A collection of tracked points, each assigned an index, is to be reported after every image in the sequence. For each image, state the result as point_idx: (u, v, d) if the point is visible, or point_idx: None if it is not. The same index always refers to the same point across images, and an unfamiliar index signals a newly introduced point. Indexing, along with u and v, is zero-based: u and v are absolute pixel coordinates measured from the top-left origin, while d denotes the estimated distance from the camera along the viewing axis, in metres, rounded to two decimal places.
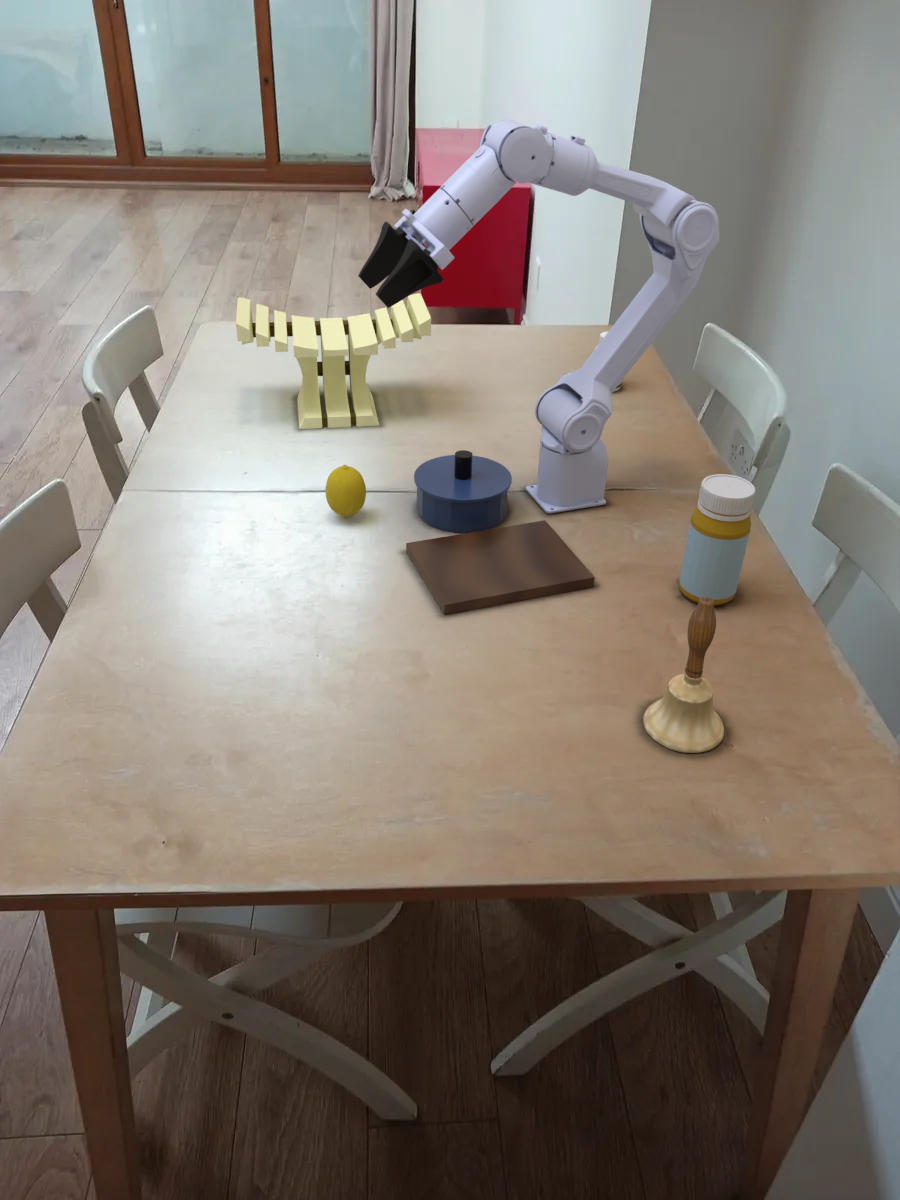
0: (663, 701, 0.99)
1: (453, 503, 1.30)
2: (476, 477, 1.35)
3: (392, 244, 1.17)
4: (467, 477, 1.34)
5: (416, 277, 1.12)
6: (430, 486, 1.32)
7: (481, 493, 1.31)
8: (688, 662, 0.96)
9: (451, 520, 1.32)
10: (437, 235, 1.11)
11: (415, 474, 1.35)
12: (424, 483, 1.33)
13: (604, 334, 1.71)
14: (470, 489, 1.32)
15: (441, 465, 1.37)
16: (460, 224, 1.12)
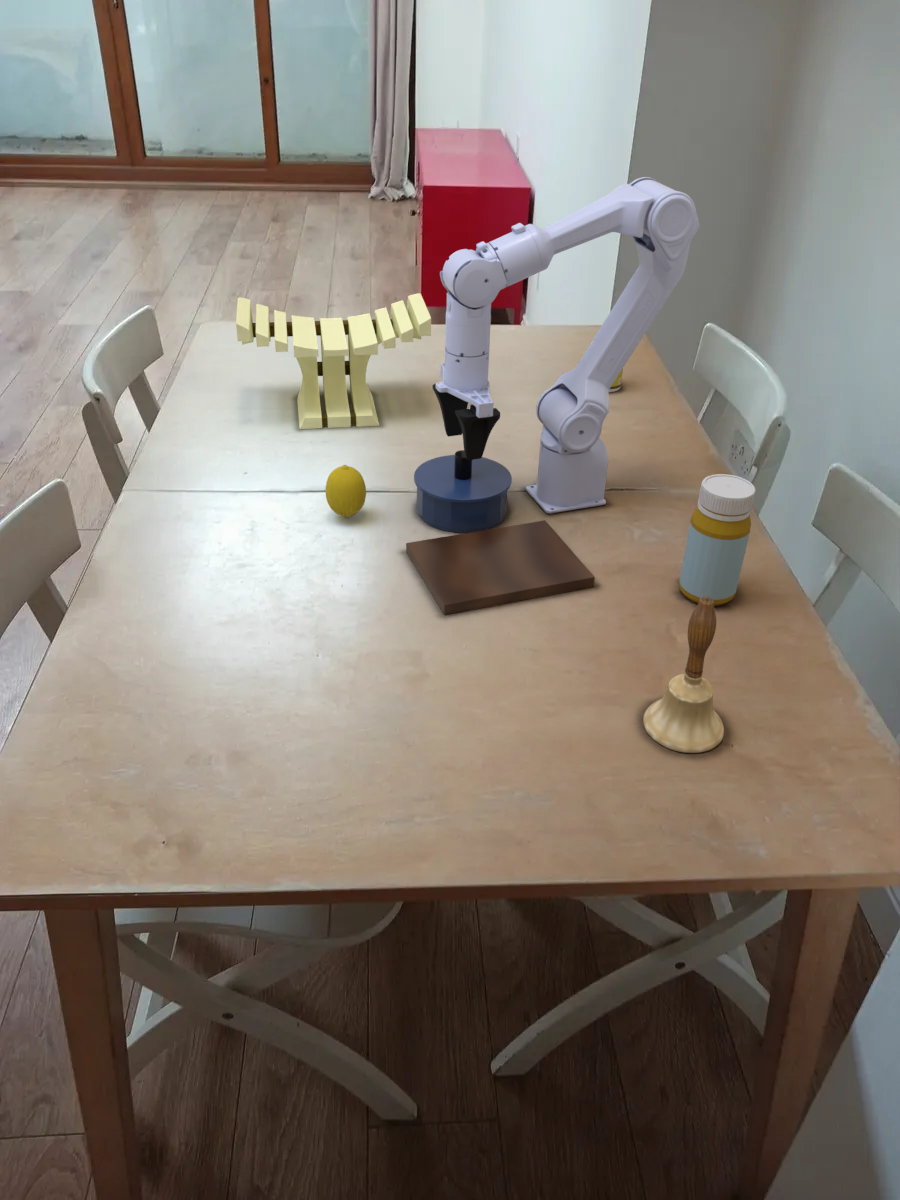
0: (663, 701, 0.99)
1: (453, 503, 1.30)
2: (476, 477, 1.35)
3: (449, 398, 1.32)
4: (467, 477, 1.34)
5: (481, 426, 1.26)
6: (430, 486, 1.32)
7: (481, 493, 1.31)
8: (688, 662, 0.96)
9: (451, 520, 1.32)
10: (471, 386, 1.24)
11: (415, 474, 1.35)
12: (424, 483, 1.33)
13: None
14: (470, 489, 1.32)
15: (441, 465, 1.37)
16: (479, 364, 1.23)
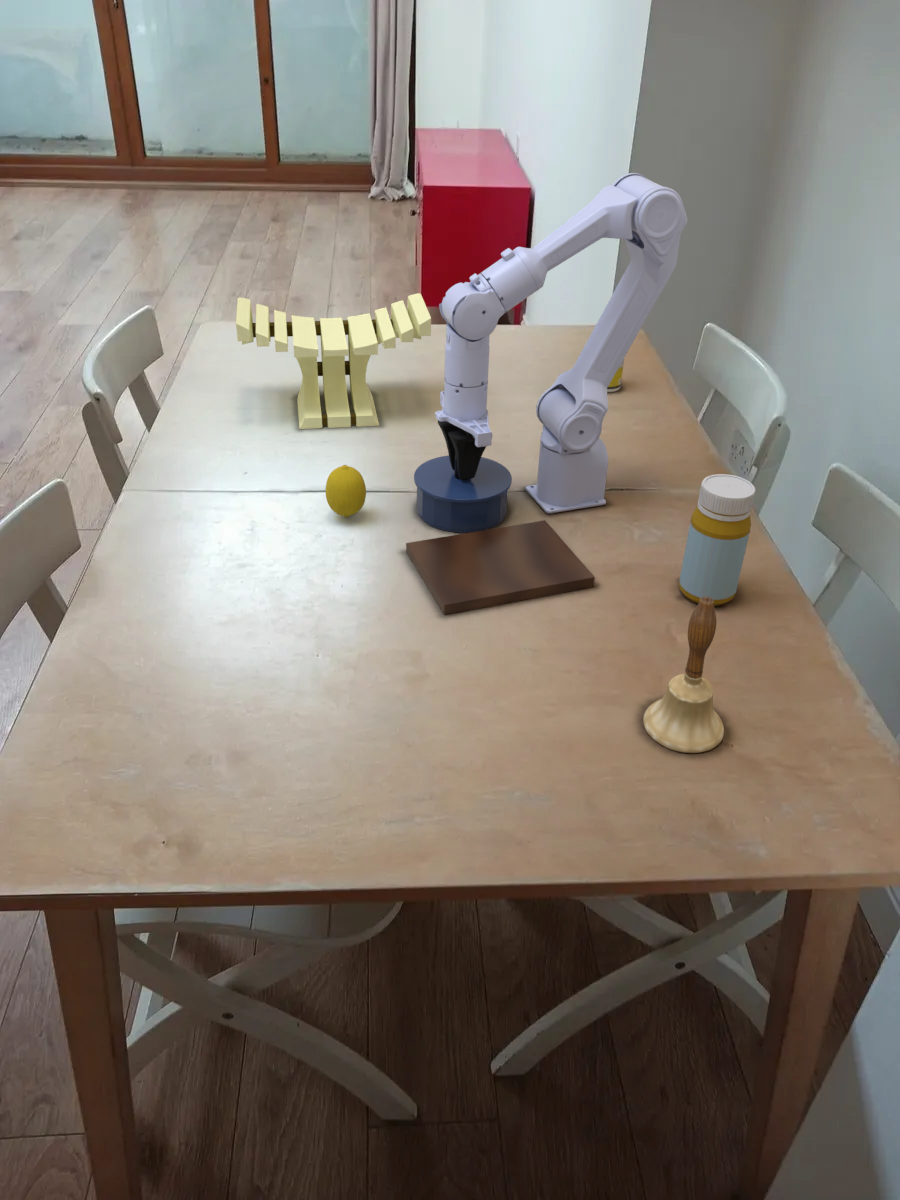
0: (663, 701, 0.99)
1: (453, 503, 1.30)
2: (476, 477, 1.35)
3: None
4: None
5: (474, 447, 1.31)
6: (430, 486, 1.32)
7: (481, 493, 1.31)
8: (688, 662, 0.96)
9: (451, 520, 1.32)
10: (470, 415, 1.27)
11: (415, 474, 1.35)
12: (424, 483, 1.33)
13: None
14: (470, 489, 1.32)
15: (441, 465, 1.37)
16: (478, 394, 1.26)
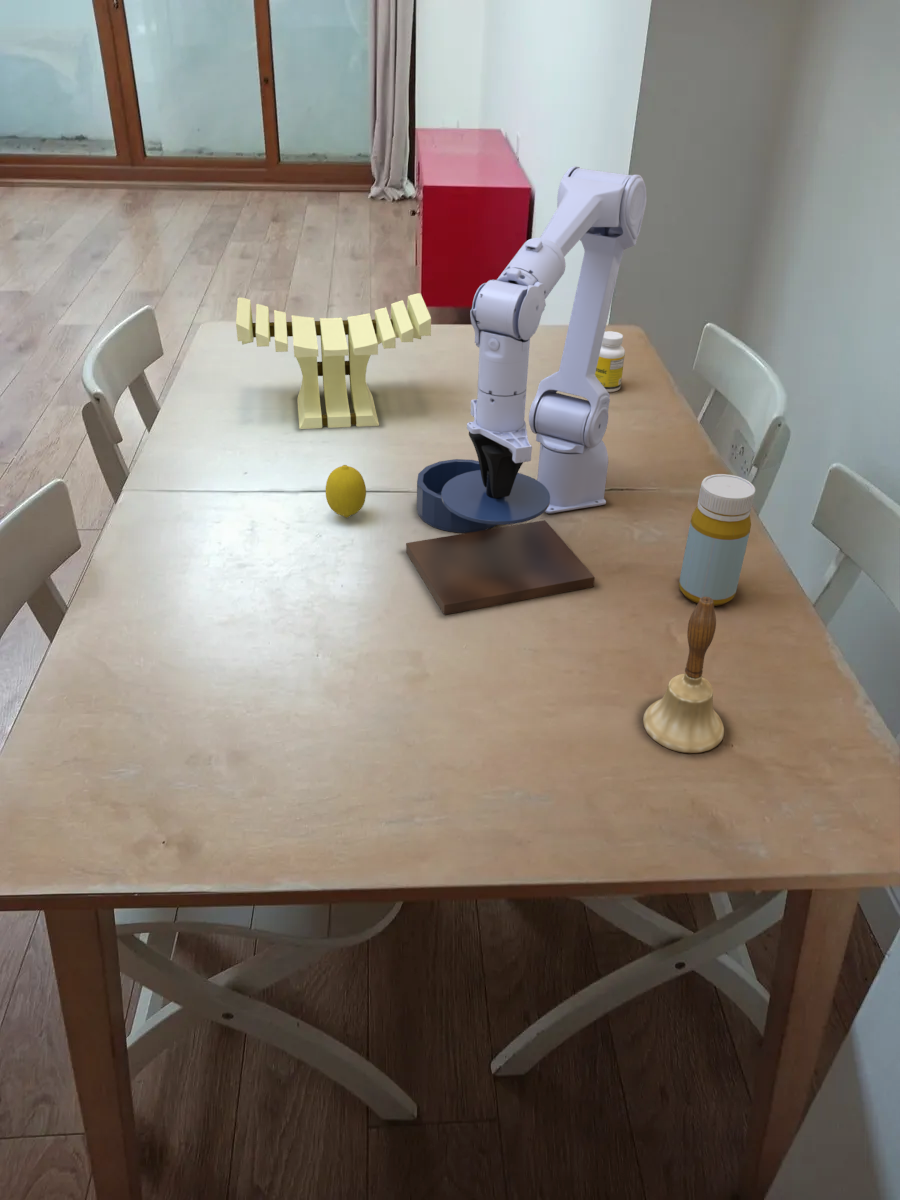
0: (663, 701, 0.99)
1: None
2: (510, 495, 1.21)
3: None
4: None
5: (509, 462, 1.17)
6: (460, 505, 1.19)
7: (517, 513, 1.17)
8: (688, 662, 0.96)
9: (451, 520, 1.32)
10: (506, 427, 1.13)
11: (443, 492, 1.21)
12: (453, 502, 1.19)
13: (604, 334, 1.71)
14: (504, 509, 1.18)
15: (471, 481, 1.24)
16: (515, 404, 1.12)
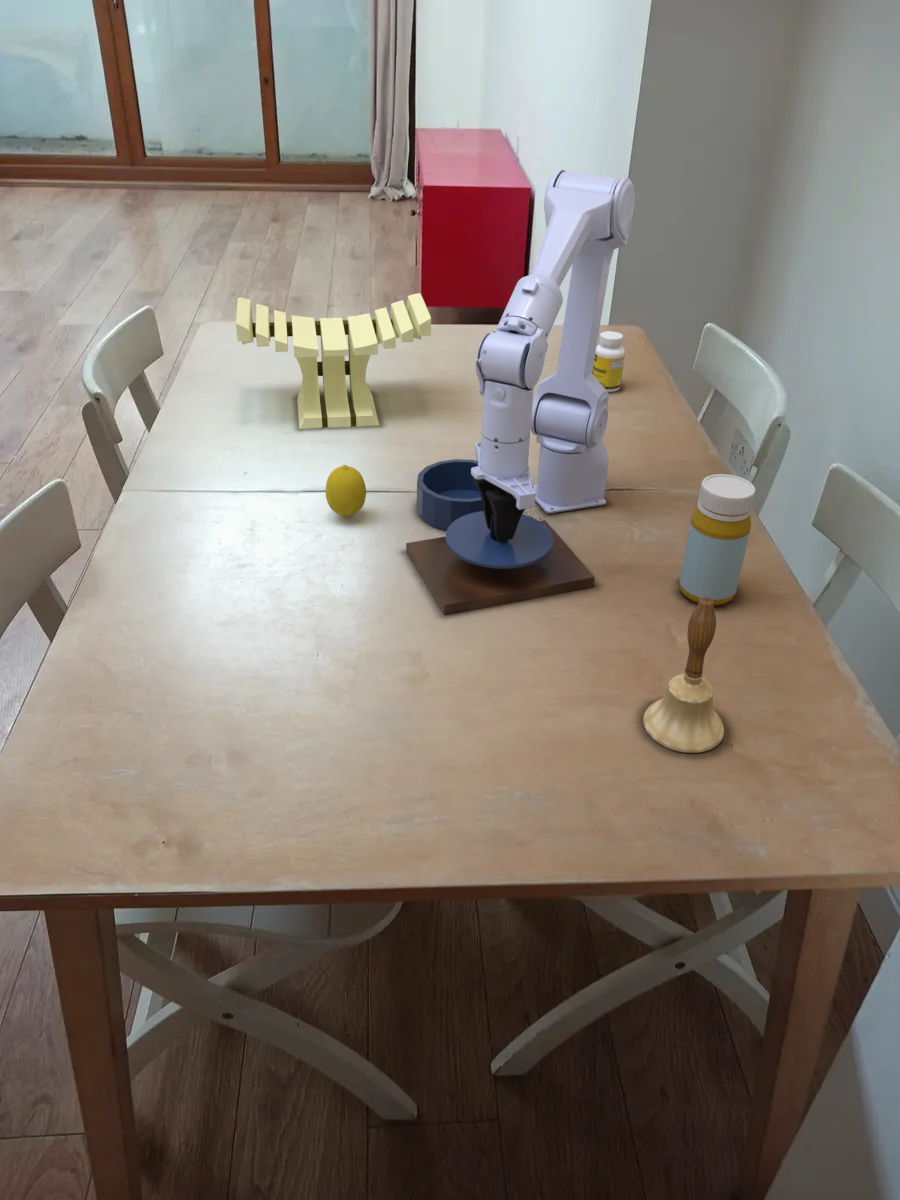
0: (663, 701, 0.99)
1: (453, 503, 1.30)
2: (514, 537, 1.22)
3: (491, 489, 1.20)
4: None
5: (513, 506, 1.18)
6: (464, 549, 1.20)
7: (521, 557, 1.18)
8: (688, 662, 0.96)
9: (451, 520, 1.32)
10: (510, 473, 1.14)
11: (447, 534, 1.23)
12: (457, 545, 1.20)
13: (604, 334, 1.71)
14: (508, 552, 1.19)
15: (475, 523, 1.25)
16: (519, 450, 1.13)
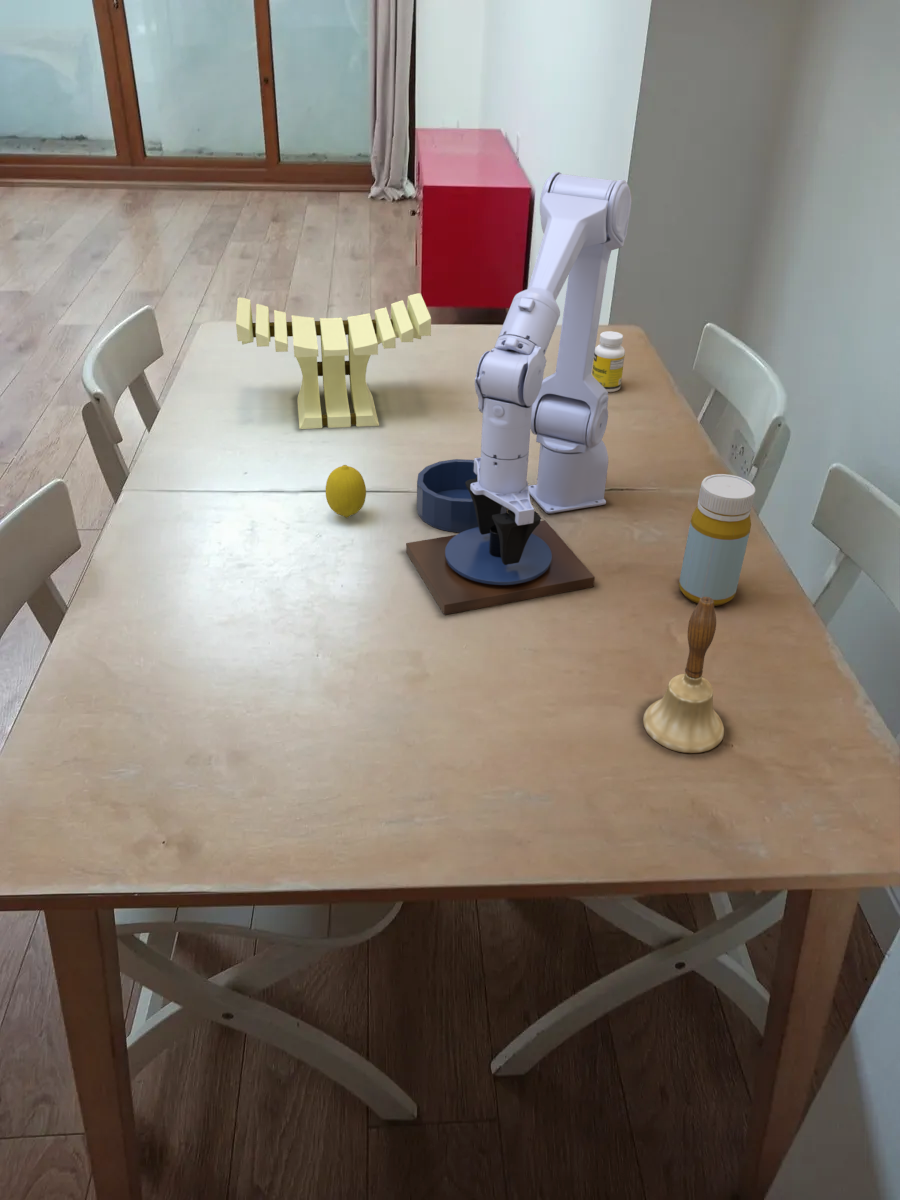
0: (663, 701, 0.99)
1: (453, 503, 1.30)
2: None
3: (484, 496, 1.23)
4: None
5: (520, 530, 1.18)
6: (463, 565, 1.21)
7: (519, 573, 1.20)
8: (688, 662, 0.96)
9: (451, 520, 1.32)
10: (509, 489, 1.16)
11: (446, 550, 1.24)
12: (457, 561, 1.22)
13: (604, 334, 1.71)
14: (507, 568, 1.21)
15: (474, 539, 1.26)
16: (518, 467, 1.14)
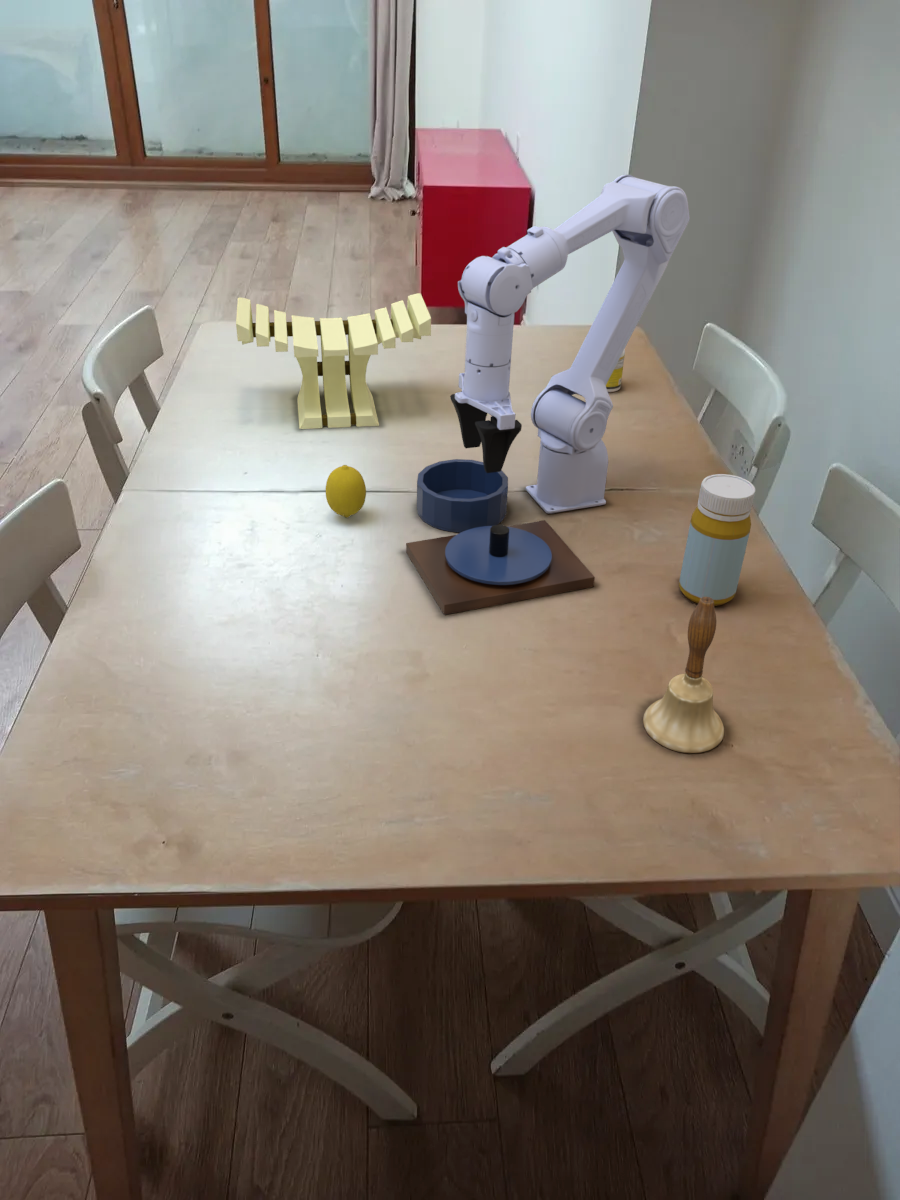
0: (663, 701, 0.99)
1: (453, 503, 1.30)
2: (513, 553, 1.24)
3: (468, 409, 1.28)
4: (503, 554, 1.23)
5: (502, 438, 1.22)
6: (463, 565, 1.21)
7: (519, 573, 1.20)
8: (688, 662, 0.96)
9: (451, 520, 1.32)
10: (492, 397, 1.21)
11: (446, 550, 1.24)
12: (457, 561, 1.22)
13: None
14: (507, 568, 1.21)
15: (474, 539, 1.26)
16: (500, 375, 1.19)
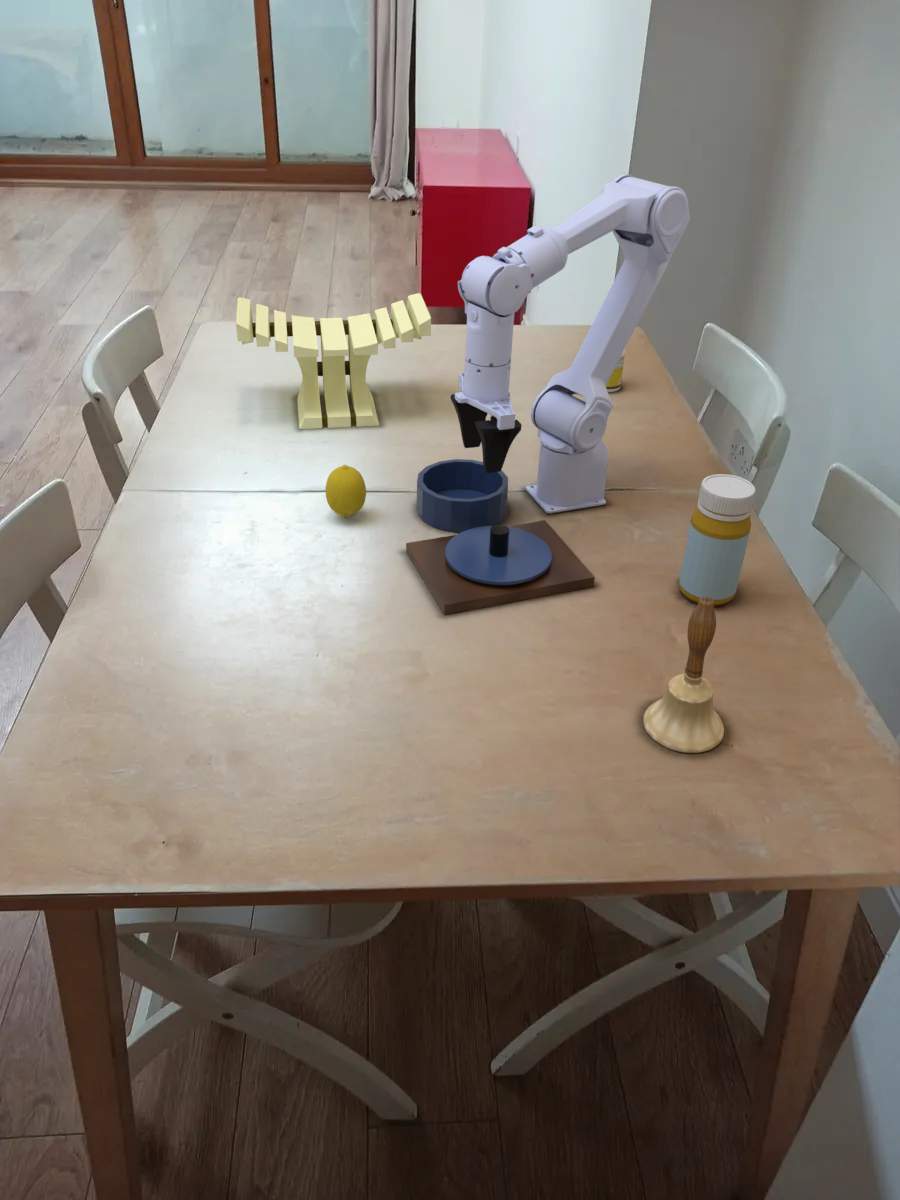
0: (663, 701, 0.99)
1: (453, 503, 1.30)
2: (513, 553, 1.24)
3: (468, 409, 1.28)
4: (503, 554, 1.23)
5: (501, 438, 1.22)
6: (463, 565, 1.21)
7: (519, 573, 1.20)
8: (688, 662, 0.96)
9: (451, 520, 1.32)
10: (492, 397, 1.21)
11: (446, 550, 1.24)
12: (457, 561, 1.22)
13: None
14: (507, 568, 1.21)
15: (474, 539, 1.26)
16: (500, 375, 1.19)
